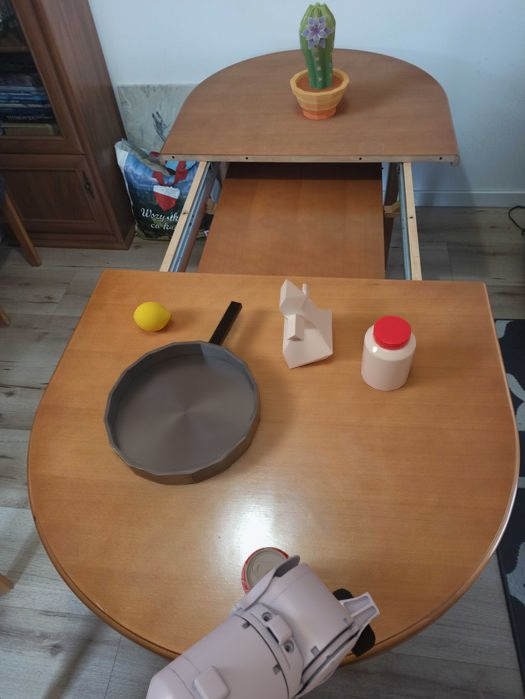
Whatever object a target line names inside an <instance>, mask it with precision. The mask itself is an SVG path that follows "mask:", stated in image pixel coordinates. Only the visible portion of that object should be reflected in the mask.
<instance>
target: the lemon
mask: <svg viewBox="0 0 525 699" xmlns="http://www.w3.org/2000/svg"><path fill="white" fill-rule="evenodd" d="M171 318H172V314H171V313H170V311H169V310H168V309H167V308H166V307H165V306H164V305H163V304H161V303H160V302H156V301H146V302H143V303H141V304H140V305H138V306H137V308H136V310H135V311H134V313H133V319H134V321H135V323H136V325H137V326H138V327H139V328H140V329H142V330H143V331H146V332H156V331H160V330H162V329H163V328H165V327H166V325H167V324H168V323H169V321H170V319H171Z"/></svg>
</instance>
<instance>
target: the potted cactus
mask: <svg viewBox="0 0 525 699" xmlns="http://www.w3.org/2000/svg"><path fill="white" fill-rule="evenodd" d="M336 23H337V21H336V18H335V15H334V13H333V12H332V11H331V9H330V8H329V6H328V5H327V4H326V3H325V2H324V3H323V4H321V3H320V2H319V1H318V2H315V4H312V3H311V4H308V7H307V9H306V10H305V12H304V15H302V18H301V20H300V23H299V24H300V26H299V29H298V36H299V37H298V38H299V48H300V51H301V53H302V54H301V55H302V56H303V58H304V61H305V66H306V69H304V70H301V71H299V72H297V73H295V74H294V75H293V77H292V78H291V79H290V80H289V83H290V87H291V92H292V94H293V95H294V96H295V97H296V101H297V103H298V105H299V106H300V107H301V109H302V114H303V116H304V117H306V118H308V119H309V120H315V121H316V120H317V121H318V120H319V121H321V120H327V119H329V118H331V117H333V116H334V115H335V113H336V112H337V108H336V107H337V106H338V104H339V103H340V102H341V100H343V97H344V93H345V92H346V91H347V89H348V88H349V85H350V78H349V75H348V73H347V72H344V71H342V70H340V69H338V68H336V67H335V68H334V67H333V51H334V49H335V39H336V27H337V26H336V25H337V24H336Z"/></svg>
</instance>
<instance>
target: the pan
mask: <svg viewBox="0 0 525 699" xmlns="http://www.w3.org/2000/svg"><path fill="white" fill-rule="evenodd" d="M242 309H243V304H242V302H238V301H235V300H231V301H230V302H229V305H228V307H227V308H226V310H225V312H224V313H223V315H222V317H221V319H220V321H219V322H218V324H217V326H216V328H215V330H214V331H213V333H212V335H211V337H210V338H209V340H208V341H204V340H185V341H172V342H170V343H168V344H165V345H163V346H160V347H158V348H154V349H152V350H149V351H147V352H145V353H143V355H141V356H139V358H137V359H136V360H135V361H133V362H132V363H131V364H130V365H128V366H127V367H126V368H124V370H122V372H121V374H120V376H119V377H118V379H117V380H116V381H115V383H114V384H113V386H112V387H111V389H110V391H109V392H108V395H107V400H106V405H105V409H104V415H103V419H102V420H103V424H104V427H105V432H106V435H107V438H108V442H109V446H110V447H111V449H112V450H113V451H114V452H115V454H116V455H117V456H118V458H120V460H121V461H122V462H123V463H124V464H125V465H126V466H127V467H128V468H129V469H130V470H131V471H132V472H133V474H135V475H137V476H140V477H141V478H144V479H146V480H148V481H151V482H155V483H157V484H162V485H169V486H171V485H172V486H174V485H175V486H182V485H189V484H194V483H199V482H203V481H205V480H208V479H210V478H213V477H214V476H217V475H218V474H220V473H222V472H223V471H225V470H226V469H228V468H229V467H231V466H232V465H233V464H235V462H237V460H239V459H240V457H241V456H242V455H243V454H244V453H245V452H246V450H247V449H248V447H249V446H250V444H251V443H252V441H253V439H254V437H255V435H256V432H257V429H258V426H259V423H260V419H261V418H260V415H261V414H260V413H261V412H260V411H261V408H260V391H259V385H258V383H257V380H256V379H255V377H254V375H253V373H252V371H251V369H250V367H249V365H248V363H247V362H246V361H245V360H243V359H242V358H241V357H240V356H238V355H237V354H236V353H234V352H233V351H232V350H231V349H229V348H228V347H226V346H223V344H224V342H225V340H226V339H227V337H228V335H229V333H230V331H231V330H232V328H233V326H234V324H235V322H236V321H237V319H238V316H239V315H240V314H241V311H242Z"/></svg>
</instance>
